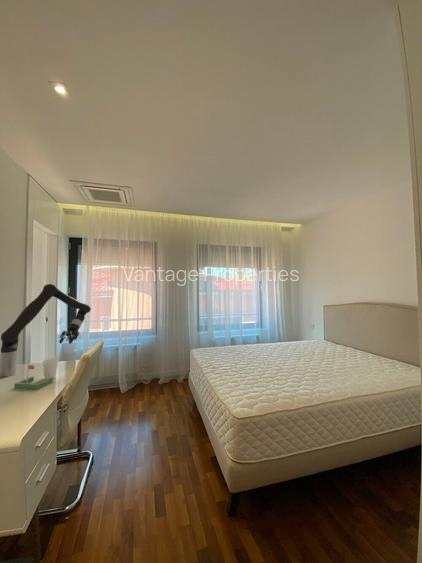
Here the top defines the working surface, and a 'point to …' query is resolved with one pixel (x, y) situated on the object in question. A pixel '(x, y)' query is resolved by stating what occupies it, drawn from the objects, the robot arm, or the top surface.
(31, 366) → the green pocket
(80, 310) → the robot arm
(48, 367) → the foam cup
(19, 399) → the top surface
